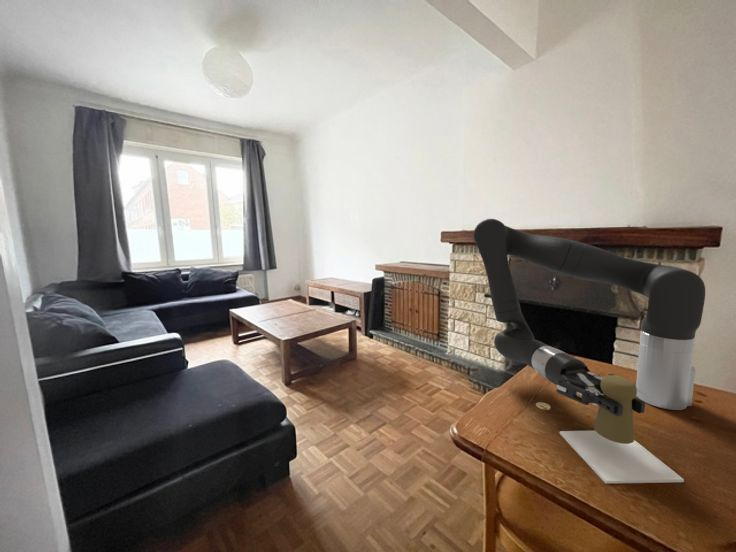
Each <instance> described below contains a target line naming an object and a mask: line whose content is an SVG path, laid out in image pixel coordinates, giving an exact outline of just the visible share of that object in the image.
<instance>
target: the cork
mask: <svg viewBox="0 0 736 552" xmlns="http://www.w3.org/2000/svg"><path fill="white" fill-rule="evenodd" d="M614 375H615V374H613V375H609V376H608V375H605V376H603V377H604V378H603V379H602V380H601V389H602V391H603V395H606V396H607V397H609V398H611V399H613V400H614V401H616V402H618V403H620V404H621V405H622V406H623V413H622V416H616V415H614V414H612V413H610V412H609V411H607V410H605V409H604V408H602V407H601V406H599V407H598V410H597V414H596V417H595V421H594V424H593V430H594V431H596V432H597V433H598V434H599V435H601V436H602V437H604V438H606V439H608V440H611V441H614V442H617V443H622V444H629V443H633V442H634V440H635V431H634V417H633V415H634V414H633V410H632V399H634V398H637V396H636V394H637V389H636V383H635V382H633V381H632V380H629V379H628V378H626V377H622V376H620V375H615V376H614Z"/></svg>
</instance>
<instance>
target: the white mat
mask: <svg viewBox="0 0 736 552" xmlns="http://www.w3.org/2000/svg"><path fill="white" fill-rule="evenodd" d="M559 435H560V436H561V437H562V438H563V439H564V440H565V441H566V442H567V443H568V444H569V445H570V447H571V448H572V449H573V450H574V451H575V453H577V455H578V456H579V457H580V458H581V459H583V461H584V462H585V463H586V464H587V465H588V466H589V467H590V468H591V469H592V470H593V472H594V473H595V474H596V475H597V476H598V477H599V478H600V479H601V481H603V483H604V484H648V483H650V484H651V483H655V484H656V483H662V484H663V483H684V482H685V479H684V478H682V476H681V475H679V474H678V473H677V472H676V471H674V470H673V469H672V468H670V467H669V466H668V465H666V464H665V463H664V462H663V461H662V460H660V459H659V458H658V457H657V456H655V455H654V454H653V453H651V452H650V451H649V450H647V449H646V448H645V447H644V446H643V445H642V444H640V443H639V442H637V441H636V440H635V439H634V442H633V443H629V444H622V443H617V442H614V441H611V440H608V439H606V438H604V437H602V436H601V435H599V434H598V433H597V432H596V431H595V430H559Z"/></svg>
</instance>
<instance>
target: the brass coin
mask: <svg viewBox="0 0 736 552" xmlns="http://www.w3.org/2000/svg"><path fill="white" fill-rule="evenodd" d="M535 406H536V407H537V408H539V409H540V410H545V411H548V410H549V411H550V410H551V408H552V407H551V405H550V404H548V403H545V402H542V401H539V402H536V403H535Z"/></svg>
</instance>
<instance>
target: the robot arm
mask: <svg viewBox="0 0 736 552" xmlns="http://www.w3.org/2000/svg"><path fill="white" fill-rule="evenodd" d="M472 236H473V241H474V243H475V246H477V249H478V252H479V254H480V257H481V259H482V262H483V266H484V268H485V272H486V277H487V281H488V286H489V293H490V298H491V301H492V302H491V304H492V308H493V312H494V316H495V319H496V321H497V322H500V323H503V324H504V323H509V324H510V325H511V326H512V329H511V328H510V329H508V330H503V331H500V332H498V333H496V334H495V336H494V338H493V339H494V340H493V344H494V347H495V349H496V350H497V352H498V353H499V354H500V355H501V356H503V357H505V358H507V359H509V360H512V361H515V362H518V363H522V364H524V365H525V364H526V365H527V366H528V367H530V368H531V369H533V370H535V371H536V372H537V373H538V374H539V375H540V376H541V377H543V378H545V379H546V380H548V381H549V382H550V383H552V384H554V385H555V386H556V390H555V391H556V392H557V393H558V394H561V395H563V396H564V397H566V398H569V399H571V400H574V401H576V402H578V403H579V404H582V405H584V406H589V404H592V405H593V406H597V407H598V406H601V407H602V408H604V409H605V410H607V411H609V412H610V413H612V414H614V415H616V416H622V413H623V406H622V405H621V404H620V403H618V402H616V401H614V400H613V399H611V398H609V397H607V396H606V395H603V391H602V389H601V380H602V379H603V378H604V377H605V376H601V375H600V374H599V373H595V372H592V371H590V369H589V368H588V366H587V365H586V363H585V362H583V361H582V360H580V359H579V358H577V357H574V356H572V355H570V354H568V353H566V352H564V351H563V350H560V349H558V348H556V347H552V346H551V345H548V344H546V343H544V342H542V341H540V340H538V339H535V336H534V333H533V332H532V329H531V328H530V326H529V325H528V323H527V321H526V319H525V316H524V314H523V312H522V309H521V305H520V301H519V295H518V292H517V288H516V285H515V281H514V279H513V275H512V272H511V268H510V265H509V259H508V256H512V257H516V258H520V259H523V260H525V261H527V262H529V263H531V264H534V265H536V266H539V267H541V268H542V269H543V268H544V269H547V270H550V271H552V272H554V273H559V274H561V275H565V276H568V277H572V278H574V279H580V280H584V281H588V282H589V281H591V282H596V283H597V282H598V283H603V284H604V283H605V284H610V285H614V286H617V287H621V288H624V289H626V290H629V291H631V292H634V293H638V294H639V295H642V296H644V297H646V298H648V301H647V309H646V315H645V317H644V318H643V319H642V320H641V326H640V337H639V347H638V348H639V349H638V359H637V371H636V381H635V382H636V383H635V386H636V389H637V394H636V397H635V398H634V399H632V411H634V412H635V413H638V414H644V413H645V409H646V404H648V405H651V406H654V407H656V408H661V409H666V410H670V411H671V410H672V411H683V410H685V409H687V407H691V406H692V403H693V395H694V394H693V393H694V385H695V376H696V368H695V367H693V366H692V364H693V357H694V356H693V355H694V346H695V338H696V333H697V330H699V327H700V326H701V323H702V318H703V313H704V307H705V301H706V300H705V299H706V285H705V282H704V280H703V279H702V278H701V277H700V276H699V275H698V274H697V273H696V272H693V271H690V270H689V269H688V270H687V269H685V268H681V267H678V266H671V265H666V264H664V265H663V264H657V263H651V262H645V261H641V260H636V259H632V258H631V259H630V258H627V257H624V256H620V255H618V254H616V253H613V252H611V251H608V250H607V249H606V250H605V249H603V248H600V247H597V246H593V245H591V244H587V243H584V242H579V241H576V240H574V239H573V240H572V239H567V238H562V237H558V236H551V235H550V236H549V235H541V234H540V235H539V234H533V233H532V234H531V233H527V232H525V231H521V230H518V229H516V228H512V227H510V226H507V225H505V224H504V223H503V222H502V221H500V220H498V219H495V218H486V219H484V220H482V221H480V222H479V223H477V224H476V226H475V228H474V230H473V235H472ZM609 375H614V376H616V374H613V373H608V374H607V376H609ZM577 394H578V395H579V396H578V395H577ZM645 403H646V404H645Z"/></svg>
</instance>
